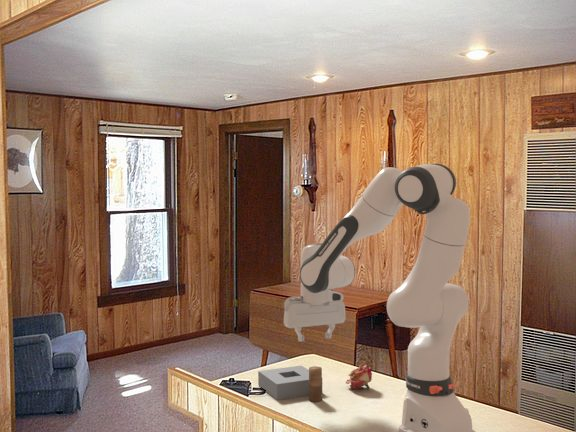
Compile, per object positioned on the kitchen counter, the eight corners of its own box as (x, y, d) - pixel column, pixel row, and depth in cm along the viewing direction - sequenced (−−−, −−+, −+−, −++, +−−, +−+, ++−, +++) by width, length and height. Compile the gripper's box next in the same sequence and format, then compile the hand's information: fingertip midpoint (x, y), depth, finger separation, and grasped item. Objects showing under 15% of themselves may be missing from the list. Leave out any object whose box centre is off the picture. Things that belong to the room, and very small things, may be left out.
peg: (324, 401, 184) (324, 369, 184) (312, 402, 182) (312, 370, 182) (318, 397, 188) (318, 365, 187) (307, 398, 186) (306, 367, 186)
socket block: (322, 393, 192) (322, 377, 191) (276, 400, 185) (276, 384, 185) (301, 379, 206) (301, 365, 206) (258, 385, 200) (258, 371, 200)
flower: (379, 380, 199) (365, 359, 201) (380, 382, 190) (366, 361, 192) (355, 396, 199) (341, 376, 201) (355, 399, 190) (341, 378, 192)
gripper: (288, 299, 177) (288, 345, 177) (348, 294, 185) (348, 338, 186) (280, 296, 183) (280, 340, 183) (338, 291, 191) (338, 334, 192)
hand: (314, 339), depth 185 cm, fingers open, 8 cm apart
